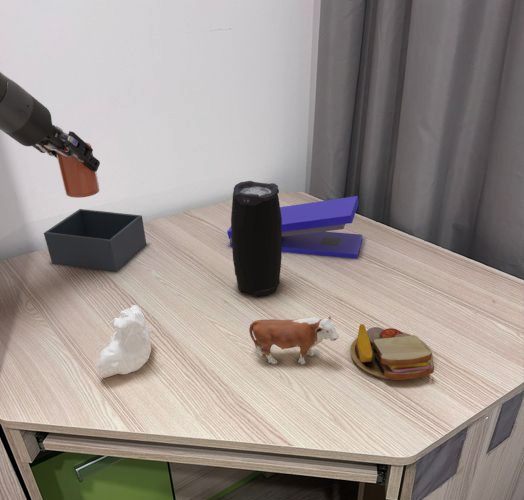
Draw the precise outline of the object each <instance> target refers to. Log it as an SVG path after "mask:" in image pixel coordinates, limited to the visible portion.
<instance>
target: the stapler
mask: <svg viewBox="0 0 524 500" xmlns="http://www.w3.org/2000/svg"><path fill="white" fill-rule="evenodd" d="M359 204H360V203H359V196H358V195H355V196H348V197H341V198H340V197H339V198H333V199H327V200H320V201H314V202H313V201H312V202H307V203H301V204H300V203H299V204H293V205H285V206H280V211H281V217H282V253H291V254H302V255H312V256H313V255H314V256H323V257H334V258H344V259H345V258H346V259H356V260H357V259H358V258H359V252H360V248H361V245H362V239H363V234H361V233H348V232H338V231H339V230H344V229H345V226H346V225H349V224H352V223H353V222H354V218H355V215H356V212H357V210H358V207H359ZM226 234H227V237H228V239H229V247H230V248H232V232H231V226H230V227H229V229H228V230H227V231H226Z"/></svg>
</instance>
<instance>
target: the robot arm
mask: <svg viewBox="0 0 524 500" xmlns="http://www.w3.org/2000/svg"><path fill="white" fill-rule="evenodd" d="M0 131H2V132H3V133H4V134H6V135H7V136H9V137H10V138H12V139H13V140H15V141H16V142H17V143H19V144H20V145H22V146H25V147H32V148H34V149H36V151H38V152H40V154H45V153H46V154H47V155H48V156H50V157H54V158H56V159H57V155H56V152H58V153H60V154H62V155H63V156H65V157H67V158H68V157H72V158H74V159H76V160H78V161H79V162H81V163H82V164H83V165H85V166H86V167H87V168H89V169H90V170H91V171H94V172H96V173H97V172H98V169H99V168H100V164H101V162H100V160H99V159H98V158H96V157H95V156H94V155H93V156H92V155H91V154H92V153H93V152H94V149H93V148H92V146H91V147H90V146H89V145H87V144H86V143H87V142H86V143H85V141H84V140H83V139H82V138H81V137H80V136H78V134H76V132H74V131H72V130H69V131H68V133H66V132H65V131H64V130H63V129H62V128H61V127H59V126H57V125H55V124H53V120H52V113H51V112H50V109H48V108H47V106H45V105H44V104H43V103H42V102H40V101H39V100H38V99H36V98H35V97H34V96H33V95H32V94H30V93H29V91H27V90H26V89H24V87H22V86H21V85H19V84H18V83H17V82H15V81H14V80H13V79H11V78H9V77H8V76H6V75H5V74H4V73H3V72H1V71H0ZM65 147H66V148H67V149H68V150H67V152H65V151H63V150H64V149H65ZM75 154H76V155H75Z"/></svg>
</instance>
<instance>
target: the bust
mask: <svg viewBox="0 0 524 500" xmlns="http://www.w3.org/2000/svg"><path fill="white" fill-rule="evenodd" d="M146 319H147V318H146V317H145V315H144V313H143V311H142V309H141V308H140V307H139V305H137V304H133V305H131V306H130V307H127V308H126V309H123V310H121V311H120V312H119V315H118V317H114V318H112V320H110V322H109V325H110V327H112V328H113V329H115V332H113V334H112V335H111V337H110V340H109V342H108V345H107V346H105V347H104V348H103V349H102V350H101V351H100V353H99V355H98V358H97V359H98V360H97V363H96V371H97V373H98V375H99V376H100V377H101V378H109V377H112V376H115V375H127V374H130V373H134V372H136V371H138V370H140V369H141V368H142V367H143V366H144V365H145V364H146V362H148V361H149V357H150V356H151V352H152V340H151V338H152V337H151V335H152V332H153V330H152V328H151V327H150V326H149V324H148V323H147V320H146Z"/></svg>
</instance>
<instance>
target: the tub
mask: <svg viewBox="0 0 524 500" xmlns="http://www.w3.org/2000/svg"><path fill="white" fill-rule="evenodd" d="M143 220H144V219H143V215H141V214H132V213H123V212H122V213H121V212H114V211H113V212H112V211H104V210H103V211H102V210H95V209H94V210H93V209H83V208H79V209H77V210H76V211H74V212H73V213H72V214H70V215H68V216H67V217H65V218H63V220H61V221H59V222H58V223H56V224H55V225H53V226H52V227H50V228H49V229H47V230H46V231H44V232H43V236H44V239H45V243H46V247H47V250H48V254H49V258H50V261H51V264H53V265H58V266H59V265H61V266H68V267H74V268H75V267H76V268H82V269H89V270H97V271H103V272H111V273H118V272H119V271H120V270H121V269H122V268H124V266H126V265H127V264H128V263H130V261H131V260H132V259H133V258H134V257H135V256H137V254H139V253H140V252H141V251H142V250H143V249H144V248H145V247H146V246H147V239H146V232H145V226H144V221H143Z"/></svg>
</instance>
